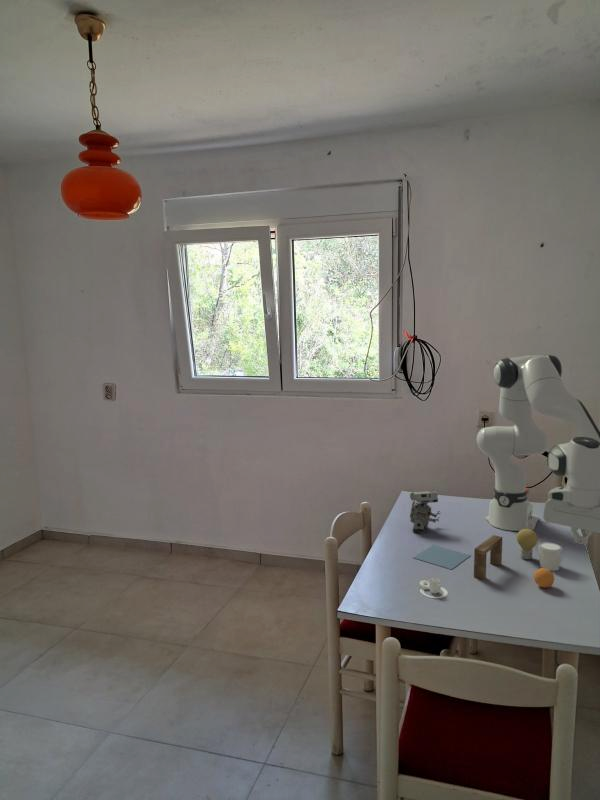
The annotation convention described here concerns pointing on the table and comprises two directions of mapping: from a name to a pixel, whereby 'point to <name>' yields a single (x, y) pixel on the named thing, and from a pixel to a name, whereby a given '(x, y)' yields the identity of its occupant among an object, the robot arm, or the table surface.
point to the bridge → (481, 551)
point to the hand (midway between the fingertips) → (581, 543)
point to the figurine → (422, 509)
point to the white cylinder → (549, 555)
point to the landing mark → (442, 557)
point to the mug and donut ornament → (432, 587)
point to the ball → (544, 577)
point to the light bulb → (526, 542)
